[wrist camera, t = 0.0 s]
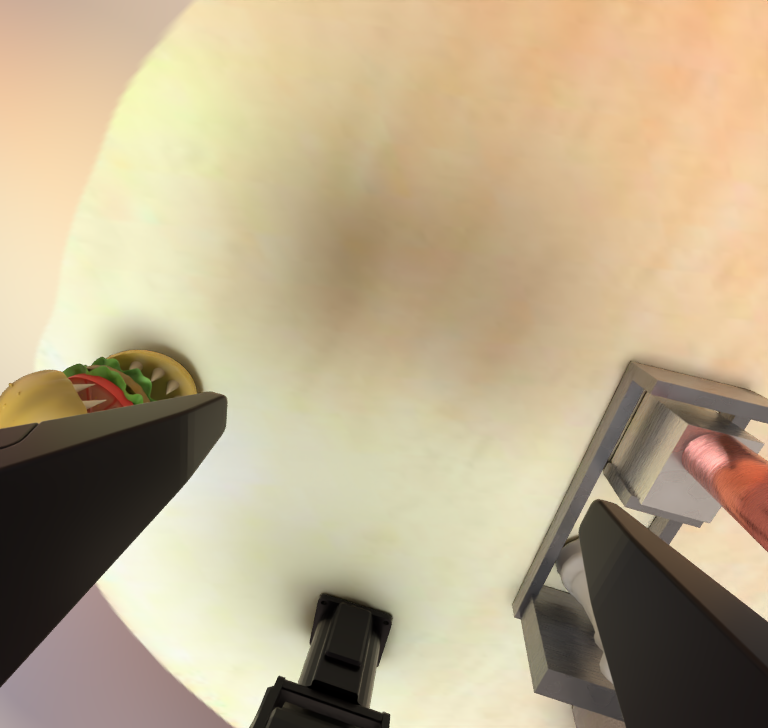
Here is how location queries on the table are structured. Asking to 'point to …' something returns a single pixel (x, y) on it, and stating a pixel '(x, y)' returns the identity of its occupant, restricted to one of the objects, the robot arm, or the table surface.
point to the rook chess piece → (579, 588)
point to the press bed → (551, 606)
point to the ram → (691, 467)
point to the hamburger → (94, 387)
